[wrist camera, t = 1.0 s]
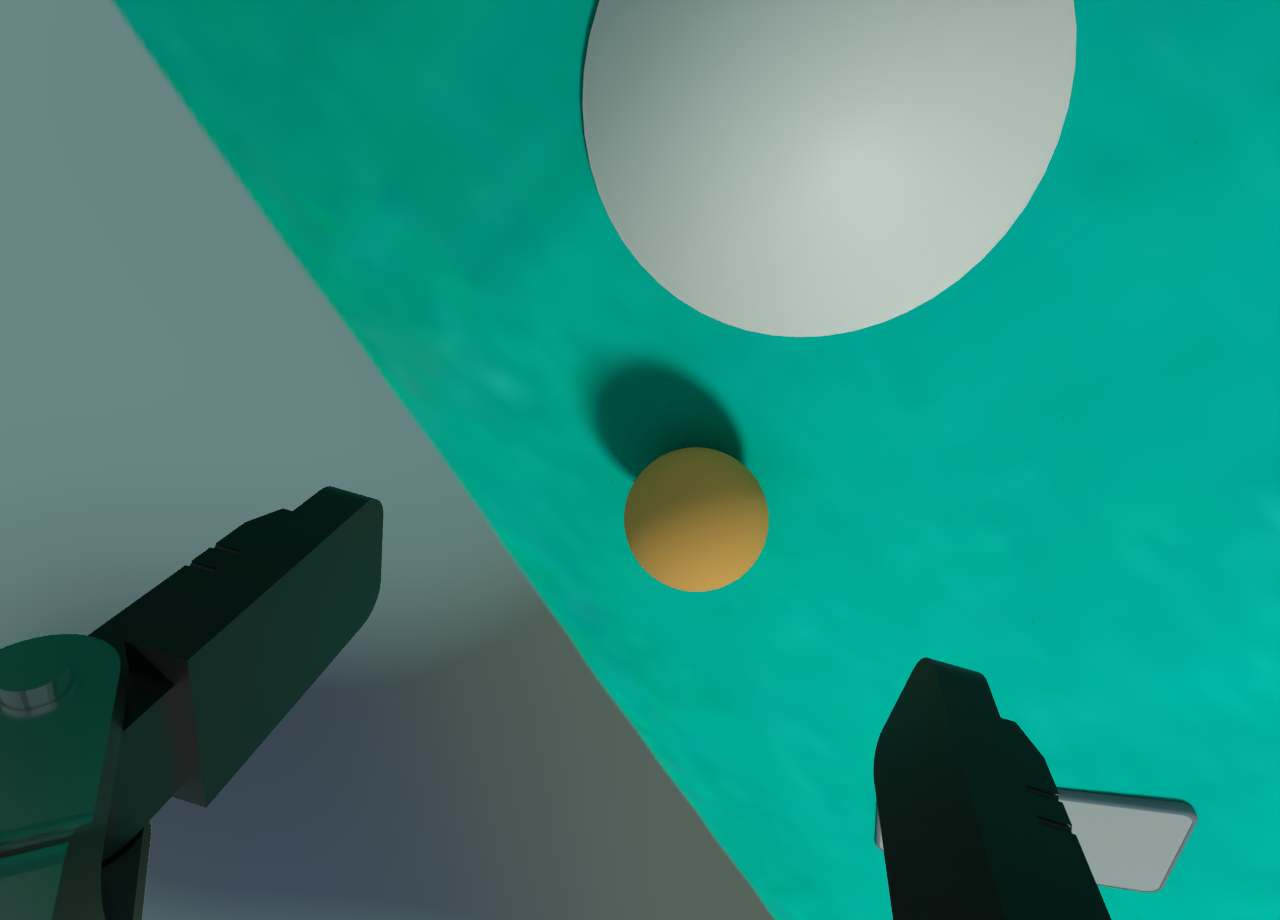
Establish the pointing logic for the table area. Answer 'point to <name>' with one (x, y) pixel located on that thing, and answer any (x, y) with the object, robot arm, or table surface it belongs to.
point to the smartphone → (1124, 837)
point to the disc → (821, 146)
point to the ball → (696, 519)
